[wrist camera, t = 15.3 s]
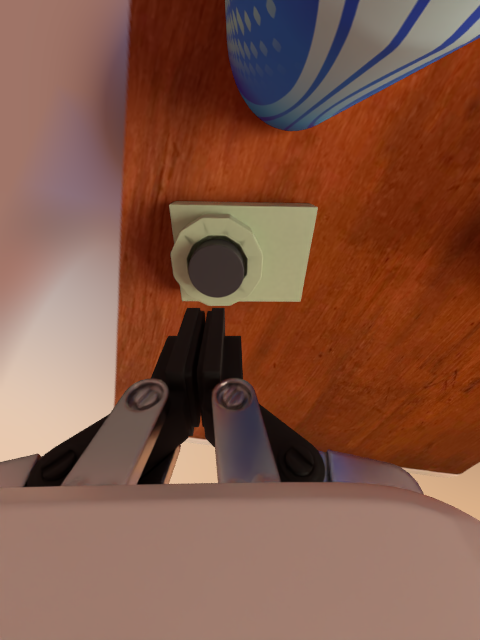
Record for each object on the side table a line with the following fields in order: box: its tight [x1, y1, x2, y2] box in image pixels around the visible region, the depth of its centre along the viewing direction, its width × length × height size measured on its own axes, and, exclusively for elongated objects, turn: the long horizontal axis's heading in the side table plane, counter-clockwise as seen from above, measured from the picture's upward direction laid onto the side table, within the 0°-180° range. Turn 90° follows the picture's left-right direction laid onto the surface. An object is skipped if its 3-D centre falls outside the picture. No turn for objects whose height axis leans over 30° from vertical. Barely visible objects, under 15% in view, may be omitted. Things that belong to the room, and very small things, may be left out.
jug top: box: [169, 201, 318, 306], centre depth 19 cm, size 11×8×4 cm
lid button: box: [188, 239, 244, 298], centre depth 17 cm, size 4×4×2 cm
